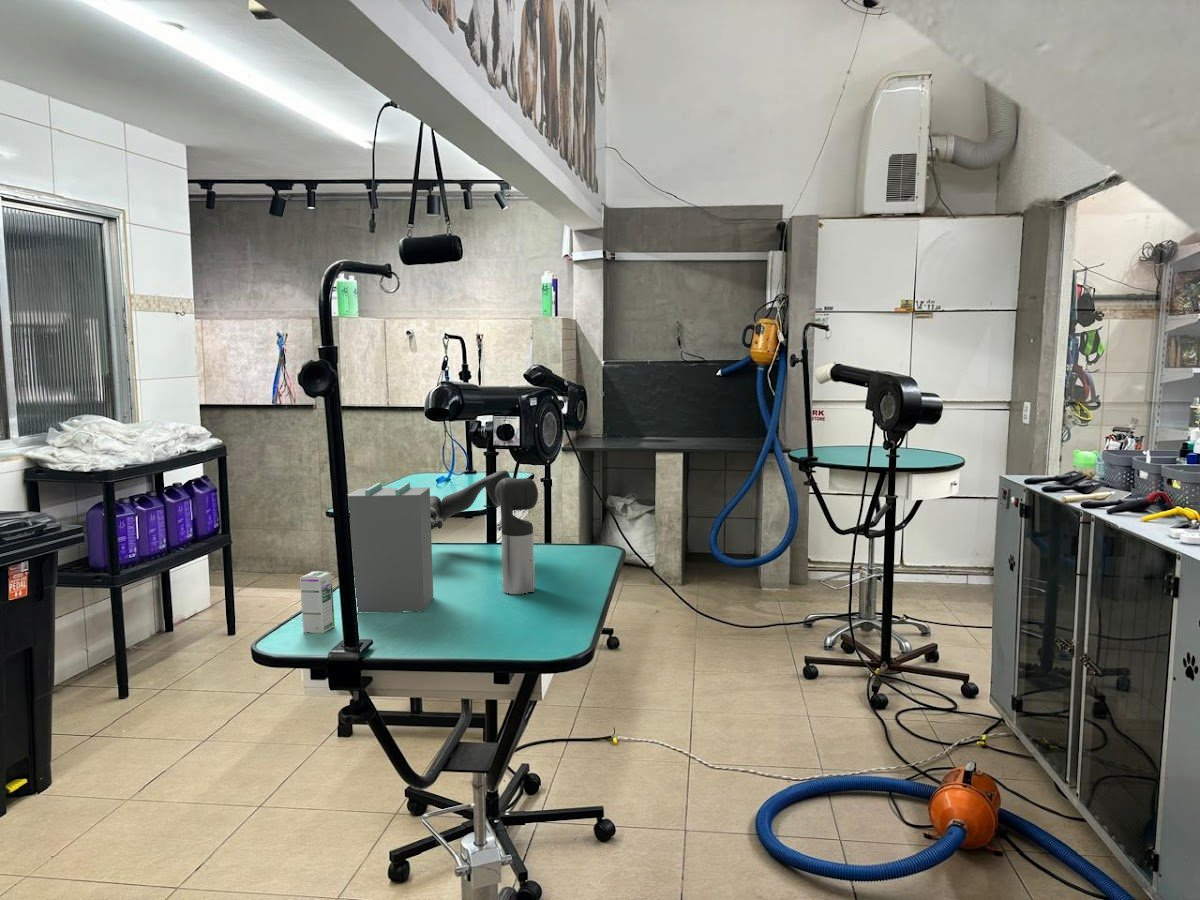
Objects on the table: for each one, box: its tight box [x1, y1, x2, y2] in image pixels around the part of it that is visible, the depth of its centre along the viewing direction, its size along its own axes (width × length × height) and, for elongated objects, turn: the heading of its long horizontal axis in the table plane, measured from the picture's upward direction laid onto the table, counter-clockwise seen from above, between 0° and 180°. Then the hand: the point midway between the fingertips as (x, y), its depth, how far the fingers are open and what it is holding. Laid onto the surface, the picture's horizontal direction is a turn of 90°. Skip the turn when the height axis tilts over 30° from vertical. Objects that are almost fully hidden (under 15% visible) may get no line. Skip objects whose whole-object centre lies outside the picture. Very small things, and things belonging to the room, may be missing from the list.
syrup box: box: [299, 570, 336, 634], centre depth 214 cm, size 6×6×14 cm
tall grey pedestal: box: [347, 482, 434, 614], centre depth 234 cm, size 20×14×34 cm
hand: (416, 527), depth 271 cm, fingers open, 8 cm apart
